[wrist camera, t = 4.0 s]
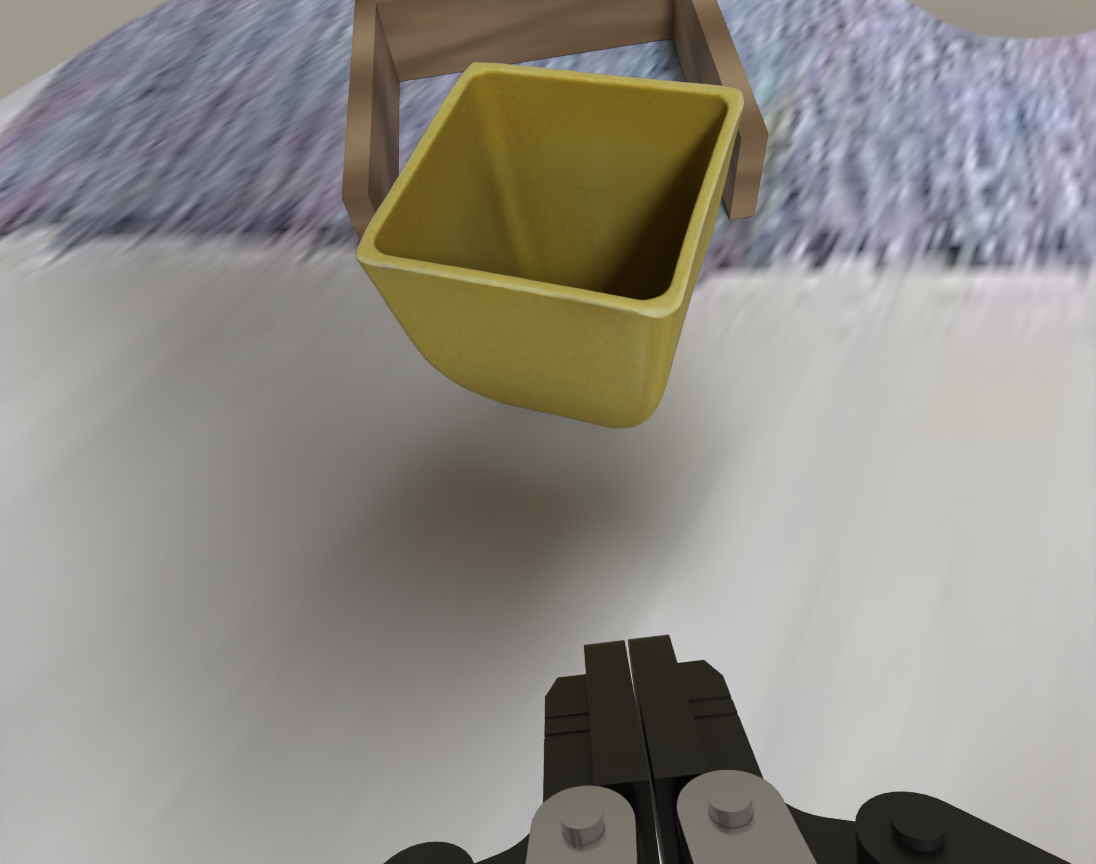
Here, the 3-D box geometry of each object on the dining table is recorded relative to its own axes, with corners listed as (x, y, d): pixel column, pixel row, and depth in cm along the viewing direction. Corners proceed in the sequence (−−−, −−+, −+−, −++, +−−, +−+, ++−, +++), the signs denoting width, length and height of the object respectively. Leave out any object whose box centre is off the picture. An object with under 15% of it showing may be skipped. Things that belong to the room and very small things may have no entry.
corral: (754, 216, 31) (768, 133, 27) (374, 272, 31) (341, 198, 28) (688, 23, 38) (693, -61, 35) (380, 72, 39) (355, -6, 35)
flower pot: (510, 256, 31) (468, 53, 23) (719, 293, 29) (749, 82, 21) (429, 432, 27) (345, 257, 19) (665, 489, 25) (676, 318, 17)
